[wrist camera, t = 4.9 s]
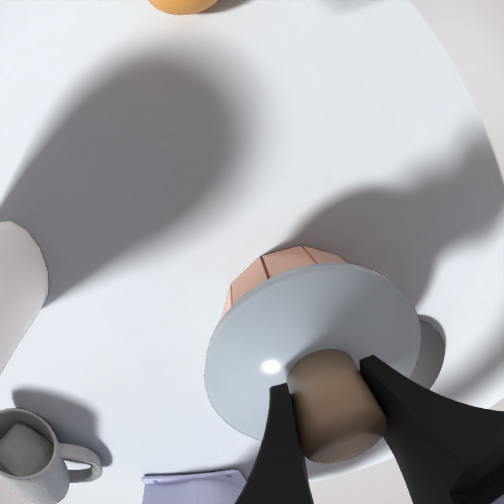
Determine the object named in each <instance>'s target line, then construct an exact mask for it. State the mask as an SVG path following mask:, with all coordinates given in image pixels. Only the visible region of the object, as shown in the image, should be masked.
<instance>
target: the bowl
mask: <svg viewBox="0 0 504 504" xmlns="http://www.w3.org/2000/svg"><path fill="white" fill-rule="evenodd" d="M262 258H263V260H262V259H261V258H260V257H259V258H258V259H257V260H256V261H255V262H254V263H253V264H252V265H251V266H250V267H248V268H247V269H246V270H245V271H244V272H243V273H242V274H241V275H240V276H239V277H238V278H237V279H236V280H235V281H234V282H233V283H232V286H230V288H229V292H228V295H227V299H226V302H225V306H224V310H223V313H222V317H223V316H224V314H225V313H226V312H227V311H228V310H229V309H230V308H231V306H232V305H233V304H234V303H235V302H236V301H237V300H239V299H240V298H241V297H242V296H243V295H244V294H245V293H247V292H248V291H250V290H251V289H253V288H254V287H255V286H257V285H258V284H260V283H261V282H263V281H265V280H267V279H269V278H271V277H273V276H275V275H277V274H280V273H282V272H285V271H288V270H290V269H293V268H297V267H301V266H305V265H309V264H317V263H325V262H341V263H346V262H345V261H344V260H343V259H342V258H341V257H340V256H338V255H336V254H332V253H329V252H325V251H321V250H318V249H314V248H310V247H307V246H302V247H301V246H296V247H292V248H289V249H285V250H281V251H278V252H274V253H270V254H266V255H263V256H262ZM222 317H221V319H222Z"/></svg>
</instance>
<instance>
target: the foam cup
mask: <svg viewBox="0 0 504 504" xmlns="http://www.w3.org/2000/svg"><path fill="white" fill-rule="evenodd" d="M48 293H49V292H48V270H47V267H46V265H45V262H44V259H43V256H42V253H41V250H40V248H39V246H38V245H37V244H36V242H35V241H34V240H33V238H32V237H31V236H30V234H29V233H28V231H27V230H25V229H24V228H22V227H20V226H19V225H17V224H15V223H14V222H12V221H5V222H0V375H1V373H2V371H3V369H4V368H5V366H6V364H7V363H8V361H9V359H10V357H11V356H12V354H13V352H14V351H15V349H16V348H17V346H18V344H19V343H20V341H21V340H22V338H23V336H24V335H25V333H26V332H27V330H28V329H29V327H30V326H31V324H32V323H33V321H34V320H35V318H36V317H37V315H38V314H39V311H40V310H41V309H42V307H43V305H44V302H45V300H46V297H47V295H48Z"/></svg>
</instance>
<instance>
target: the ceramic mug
mask: <svg viewBox="0 0 504 504" xmlns="http://www.w3.org/2000/svg"><path fill="white" fill-rule="evenodd" d="M64 459H71V460H79V461H83V462H87V463H91V464H93V465H92V466H91V468H88V469H82V470H68V469H67V466H66V464H65V462H64ZM101 474H102V466H101V461H100V458H99V456H98V455H97V454H96V453H95V452H94V451H92V450H90V449H88V448H85V447H83V446H78V445H72V444H65V443H59V442H58V440H57V438H56V435H55V433H54V431H53V429H52V428H51V427H50V425H49V424H48V423H47V422H46V421H45V420H44V419H42V418H41V417H39V416H38V415H36V414H35V413H32V412H30V411H27V410H25V409H19V408H10V409H4V410H1V411H0V477H1V478H2V480H3V481H4V482H5V483H6V484H7V485H8V486H9V487H10V488H11V489H12V490H13V491H14V492H15V493H16V494H18V495H19V496H20V497H22V498H23V499H25V500H27V501H29V502H31V503H34V504H56V503H58V502H60V501H61V500H62V499H63V498H64V497H65V495H66V494H67V491H68V488H69V484H70V483H79V482H90V481H94V480H96V479H98V478H99V477H100V476H101Z"/></svg>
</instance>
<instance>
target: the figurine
mask: <svg viewBox="0 0 504 504" xmlns="http://www.w3.org/2000/svg"><path fill="white" fill-rule="evenodd" d="M148 1H149V2H150V3H151V4H152V5H153V6H154V7H156V8H157V9H159V10H161V11H163V12H165V13H169V14H173V15H189V14H194V13H198V12H201V11H203V10H205V9H207V8H209V7H211V6H212V5H214V4H215V3H216V2H217V1H218V0H148Z"/></svg>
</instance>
